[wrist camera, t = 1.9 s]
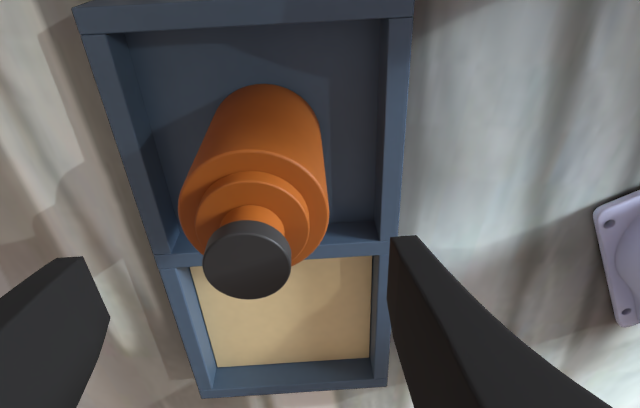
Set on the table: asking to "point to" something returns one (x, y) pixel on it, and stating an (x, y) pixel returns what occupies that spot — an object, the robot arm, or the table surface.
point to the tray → (339, 161)
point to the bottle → (256, 191)
